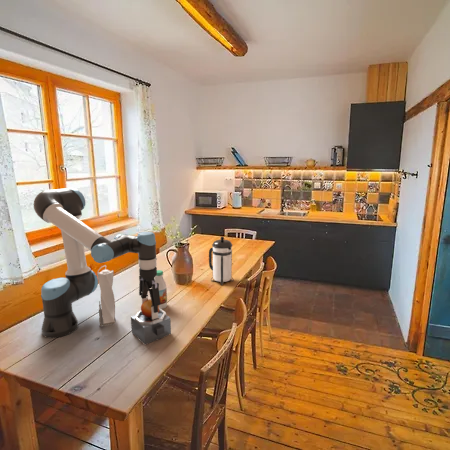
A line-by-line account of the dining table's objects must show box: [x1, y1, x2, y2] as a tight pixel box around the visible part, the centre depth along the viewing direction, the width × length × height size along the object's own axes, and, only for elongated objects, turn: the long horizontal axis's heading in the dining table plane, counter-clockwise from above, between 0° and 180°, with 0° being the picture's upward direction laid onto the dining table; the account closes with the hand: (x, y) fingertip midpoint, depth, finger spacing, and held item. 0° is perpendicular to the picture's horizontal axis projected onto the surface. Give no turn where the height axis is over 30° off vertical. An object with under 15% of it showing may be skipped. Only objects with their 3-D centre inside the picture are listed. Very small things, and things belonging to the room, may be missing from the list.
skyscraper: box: [96, 264, 116, 327], centre depth 152 cm, size 8×8×28 cm
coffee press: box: [208, 236, 234, 286], centre depth 203 cm, size 17×16×30 cm
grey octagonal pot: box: [130, 308, 172, 345], centre depth 142 cm, size 13×15×9 cm
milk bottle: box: [154, 269, 168, 310], centre depth 168 cm, size 8×8×20 cm
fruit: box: [140, 298, 159, 318], centre depth 142 cm, size 8×8×8 cm
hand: (150, 314), depth 142 cm, fingers closed on fruit, 8 cm apart
